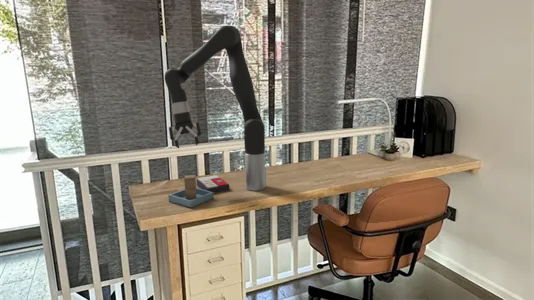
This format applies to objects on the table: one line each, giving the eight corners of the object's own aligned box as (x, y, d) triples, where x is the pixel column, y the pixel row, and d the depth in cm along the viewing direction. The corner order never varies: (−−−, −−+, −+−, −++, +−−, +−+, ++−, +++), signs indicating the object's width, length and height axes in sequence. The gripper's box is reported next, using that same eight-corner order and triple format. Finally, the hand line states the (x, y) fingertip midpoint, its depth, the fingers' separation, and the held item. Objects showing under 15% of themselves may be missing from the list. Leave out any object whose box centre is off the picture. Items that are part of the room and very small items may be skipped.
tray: (192, 192, 183) (191, 186, 182) (213, 198, 175) (213, 192, 174) (168, 201, 172) (168, 194, 171) (190, 208, 164) (190, 201, 164)
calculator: (207, 187, 180) (196, 177, 192) (207, 196, 181) (196, 185, 194) (229, 183, 185) (217, 173, 198) (229, 192, 186) (217, 182, 199)
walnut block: (186, 197, 175) (184, 175, 173) (196, 196, 176) (195, 175, 174) (185, 200, 171) (184, 178, 169) (196, 200, 172) (195, 178, 169)
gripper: (165, 114, 179) (171, 149, 181) (196, 109, 181) (202, 144, 183) (166, 114, 187) (173, 148, 188) (197, 110, 189) (202, 143, 190)
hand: (187, 146), depth 185 cm, fingers open, 8 cm apart
